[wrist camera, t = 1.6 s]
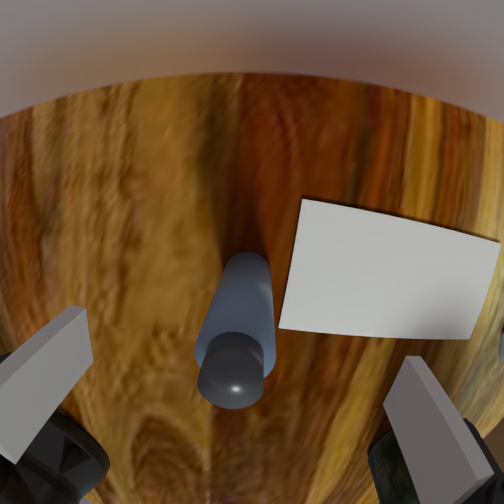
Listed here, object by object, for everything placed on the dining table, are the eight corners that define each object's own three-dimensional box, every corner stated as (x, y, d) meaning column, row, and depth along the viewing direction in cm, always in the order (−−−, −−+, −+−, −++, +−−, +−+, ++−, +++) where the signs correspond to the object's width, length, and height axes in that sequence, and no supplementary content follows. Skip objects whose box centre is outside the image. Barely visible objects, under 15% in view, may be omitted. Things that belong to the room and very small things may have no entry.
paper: (278, 326, 23) (278, 327, 23) (302, 198, 20) (302, 198, 20) (468, 338, 23) (469, 339, 23) (499, 243, 20) (500, 243, 20)
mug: (352, 472, 29) (368, 544, 17) (390, 396, 25) (431, 487, 13) (420, 459, 28) (446, 520, 17) (466, 384, 25) (515, 451, 13)
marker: (221, 291, 22) (183, 409, 10) (227, 248, 21) (185, 341, 9) (266, 298, 22) (268, 421, 10) (274, 255, 21) (286, 355, 9)
